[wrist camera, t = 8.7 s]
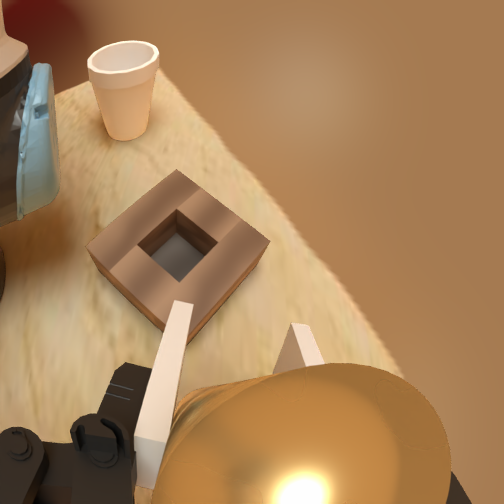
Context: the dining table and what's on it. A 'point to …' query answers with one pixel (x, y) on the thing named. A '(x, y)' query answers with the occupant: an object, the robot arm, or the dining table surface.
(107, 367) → the dining table surface
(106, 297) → the dining table surface
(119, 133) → the foam cup
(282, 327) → the dining table surface
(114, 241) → the walnut socket block
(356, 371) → the brass peg
